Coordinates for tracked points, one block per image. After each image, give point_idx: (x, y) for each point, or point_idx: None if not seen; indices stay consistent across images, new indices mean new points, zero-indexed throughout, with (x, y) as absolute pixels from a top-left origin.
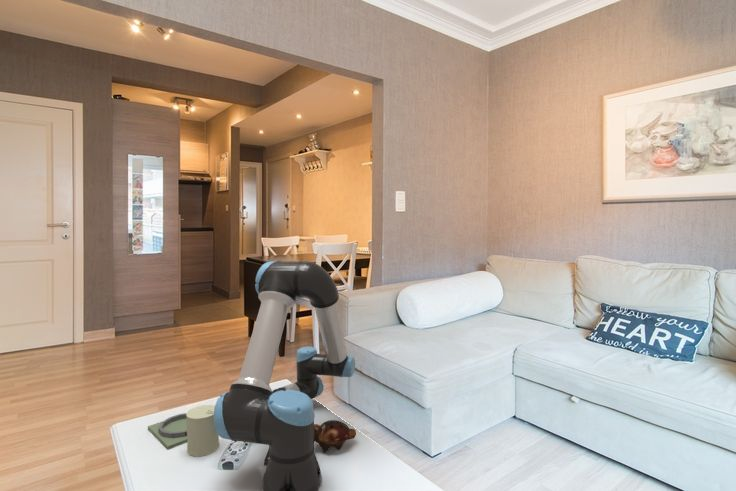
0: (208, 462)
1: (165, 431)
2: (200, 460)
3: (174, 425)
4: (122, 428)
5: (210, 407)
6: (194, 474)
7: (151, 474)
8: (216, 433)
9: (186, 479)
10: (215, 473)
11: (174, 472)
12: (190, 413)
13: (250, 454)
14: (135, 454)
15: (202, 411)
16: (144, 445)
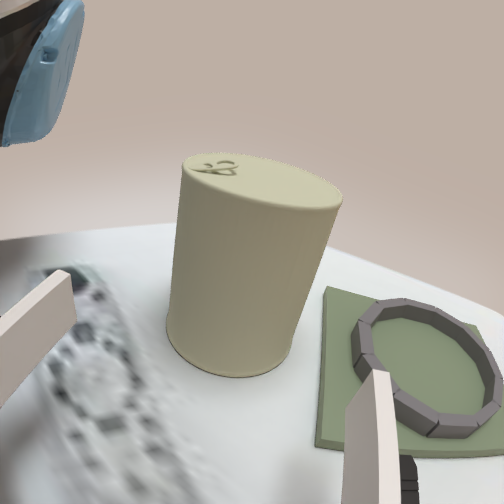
0: (139, 279)
1: (403, 302)
2: None
3: (452, 358)
4: (492, 314)
5: (274, 194)
6: (140, 245)
7: None
8: (173, 277)
9: (145, 234)
10: (85, 253)
11: None
12: (293, 171)
13: None
14: (358, 268)
15: (266, 176)
16: (389, 291)
